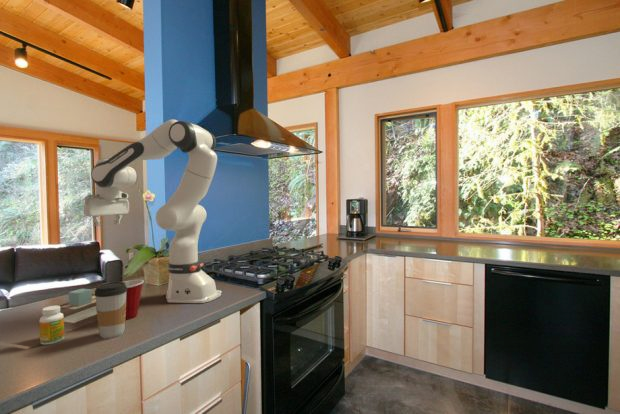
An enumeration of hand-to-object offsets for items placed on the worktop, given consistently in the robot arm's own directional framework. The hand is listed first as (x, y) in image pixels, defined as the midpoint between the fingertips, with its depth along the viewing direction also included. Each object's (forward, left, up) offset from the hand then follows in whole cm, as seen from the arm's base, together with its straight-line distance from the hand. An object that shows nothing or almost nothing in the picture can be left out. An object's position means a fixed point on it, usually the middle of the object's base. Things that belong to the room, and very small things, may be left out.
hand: (108, 225), depth 139 cm
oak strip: (-9, +15, -29) cm, 34 cm away
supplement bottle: (-30, +45, -29) cm, 62 cm away
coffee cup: (-43, +37, -29) cm, 64 cm away
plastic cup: (-36, +25, -29) cm, 53 cm away
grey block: (-21, +25, -29) cm, 44 cm away
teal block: (-9, +20, -28) cm, 36 cm away
